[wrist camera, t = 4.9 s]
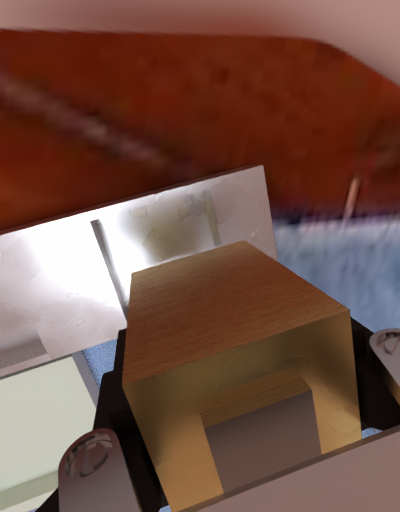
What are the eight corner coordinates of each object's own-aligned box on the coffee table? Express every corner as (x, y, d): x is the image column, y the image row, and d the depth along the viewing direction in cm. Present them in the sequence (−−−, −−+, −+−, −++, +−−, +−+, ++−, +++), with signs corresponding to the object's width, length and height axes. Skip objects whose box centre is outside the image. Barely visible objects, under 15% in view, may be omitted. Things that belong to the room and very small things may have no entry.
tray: (76, 339, 21) (71, 356, 19) (125, 449, 25) (125, 472, 23) (-94, 394, 20) (-117, 419, 18) (-15, 503, 23) (-28, 533, 21)
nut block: (243, 239, 13) (362, 317, 6) (263, 336, 15) (376, 487, 8) (131, 272, 13) (120, 399, 6) (164, 369, 14) (187, 564, 7)
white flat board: (247, 164, 20) (262, 164, 18) (266, 271, 23) (281, 283, 21) (-189, 280, 17) (-240, 299, 14) (-107, 391, 19) (-139, 422, 17)
